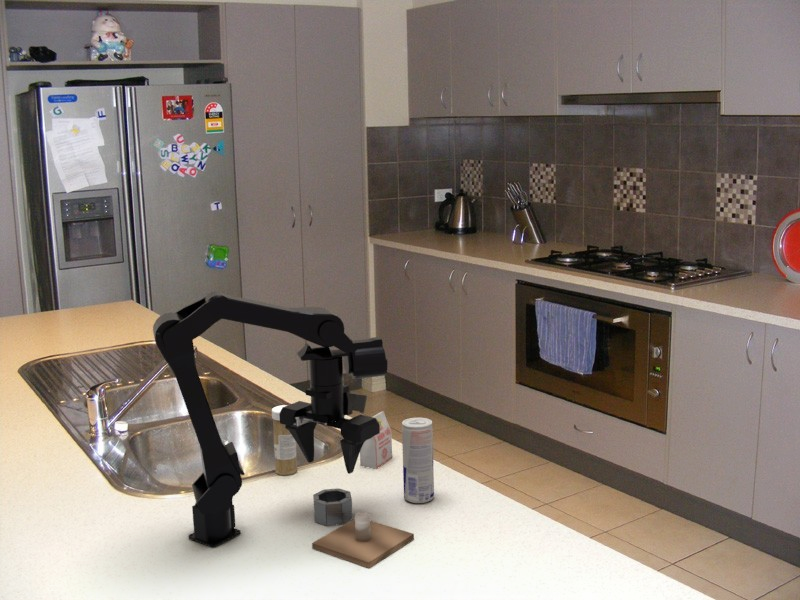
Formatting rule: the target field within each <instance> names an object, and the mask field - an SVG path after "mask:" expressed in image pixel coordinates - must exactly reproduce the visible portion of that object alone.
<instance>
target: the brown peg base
mask: <svg viewBox="0 0 800 600" xmlns="http://www.w3.org/2000/svg"><path fill="white" fill-rule="evenodd" d="M413 540H415V534H414V533H412V532H410V531H406V530H402V529H399V528H396V527H393V526H390V525H387V524H382V523H380V522H376V521H374V520H371V515H370V514H369V513H367V512H358V513H356V514H354V518H353V519H352V520H350V521H348V522H346V523H345V524H343V525H340V526H339V527H337V528H336V529H335V530H332V531H331V532H329V533H327V534H325V535H324V536H322V537H320V538H318V539H317V540H315V541H313V542H312V543H311V548H312V549H313V550H315V551H319V552H321V553H323V554H327V555H330V556H333V557H336V558H338V559H342V560H343V561H347V562H350V563H353V564H355V565H358V566H362V567H364V568H367V569H370V568H372V567H373V566H375V565H376V564H378V563H379V562H381V561H383V560H384V559H386V558H387V557H389V556H390V555H391V554H394V553H395V552H396V551H398V550H399V549H401V548H403V547H404V546H406V545H408V544H409V543H410V542H412V541H413Z"/></svg>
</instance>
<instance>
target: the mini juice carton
mask: <svg viewBox="0 0 800 600" xmlns="http://www.w3.org/2000/svg"><path fill="white" fill-rule="evenodd" d="M372 417H373V418H376V419H377V420H378V421H379V425H380V433H379V434H377V435H375V436H373V437H372V438H370V439H368V440H366V441H365V442H364V444H363V446H362V448H361V450H360V453H359V462H360V463H359V464H360V465H359V466H364V467H363V468H366V467H369V468H368V469H371V468H373V469H372V470H377V469H379V468H381V467H382V466H383V465H385V464H386V463H387V462H389V461H390V460H392V459H393V438H392V437H393V436H392V429H391V427H390V425H389V422H388V420H387V417H386V415H385V411H383V410H382V411H380V412H378V413H377V414H375V415H373V416H372ZM384 463H385V464H384ZM381 465H382V466H381ZM378 467H379V468H378Z"/></svg>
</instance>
